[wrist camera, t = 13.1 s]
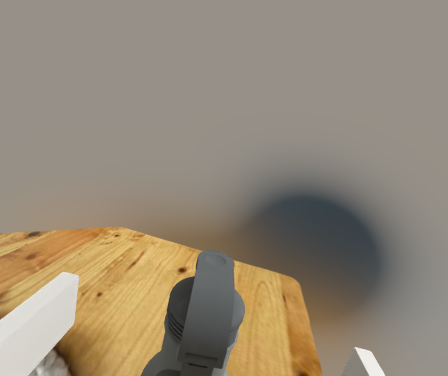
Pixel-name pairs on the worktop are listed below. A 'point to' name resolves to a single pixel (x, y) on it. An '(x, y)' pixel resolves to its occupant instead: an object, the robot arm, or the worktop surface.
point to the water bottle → (200, 321)
